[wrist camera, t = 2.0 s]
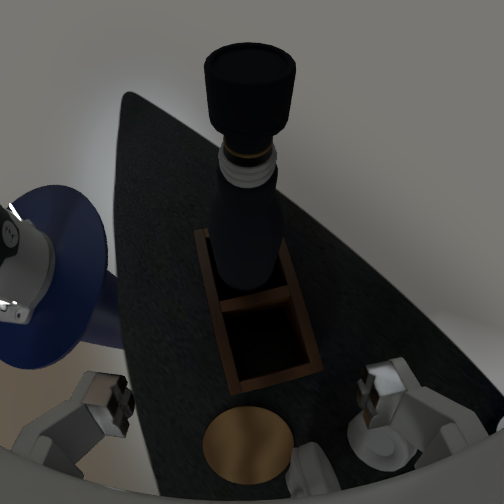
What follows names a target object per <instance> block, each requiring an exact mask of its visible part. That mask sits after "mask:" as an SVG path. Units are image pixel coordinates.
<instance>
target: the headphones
mask: <svg viewBox="0 0 504 504" xmlns="http://www.w3.org/2000/svg"><path fill="white" fill-rule="evenodd" d="M363 412H364V409H363V410H362V411H361V412H360V413H359V414H358V415H357V416H356V417H355V418H353V419H352V420H351V421H350V422H349V424H348V430H347V437H348V440H349V443H350V446H351V448H352V449H353V451H354V452H355V453H356V455H357V456H358V457H359V458H360V459H361V460H362V461H364V462H365V463H366V464H367V465H369V466H371V467H373V468H376V469H378V470H380V471H395V470H397V469H399V468H401V467H403V466H405V465H406V464H407V462H408V461H409V460H410V459H411V457H413V456H414V455H415V453H416V451H417V449H418V448H417V447H415V446H414V445H413V444H411V443H410V442H409V441H408V440H406V439H405V438H404V437H403V436H401V435H400V434H399V433H397V432H396V431H395V430H394V429H392V428H391V427H390V425H388V426H383V427H379V428H374V429H369V430H367V427H366V424H365V421H364V419H363V416H362V415H363ZM285 477H286V483H287V486H288V489H289V491H290V493H291V495H292V496H291V497H290V498H297V497H305V496H313V495H319V494H325V493H331V492H336V491H341V488H340V485H339V482H338V480H337V477H336V475H335V473H334V470H333V468H332V466H331V464H330V462H329V460H328V458H327V457H326V455H325V453H324V452H323V450H322V449H321V447H320V446H319V445H318V444H317V443H316V442H309V443H307V444H304V445H302V446H299V448H293V449H292V454H291V463H290V468H289V470H288V472H287V473H286V476H285Z"/></svg>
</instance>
